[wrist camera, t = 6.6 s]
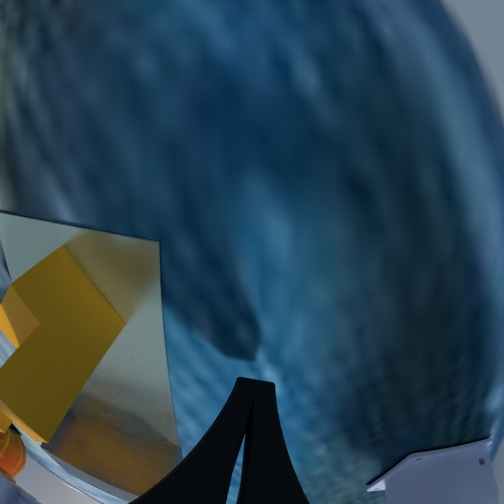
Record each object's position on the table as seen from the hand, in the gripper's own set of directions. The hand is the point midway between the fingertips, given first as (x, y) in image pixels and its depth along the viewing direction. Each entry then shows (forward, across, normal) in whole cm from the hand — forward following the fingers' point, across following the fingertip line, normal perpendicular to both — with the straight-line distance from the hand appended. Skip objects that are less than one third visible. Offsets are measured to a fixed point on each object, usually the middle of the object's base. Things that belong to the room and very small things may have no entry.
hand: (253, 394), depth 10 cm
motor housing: (+1, +11, +6) cm, 12 cm away
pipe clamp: (+2, +12, +2) cm, 12 cm away
